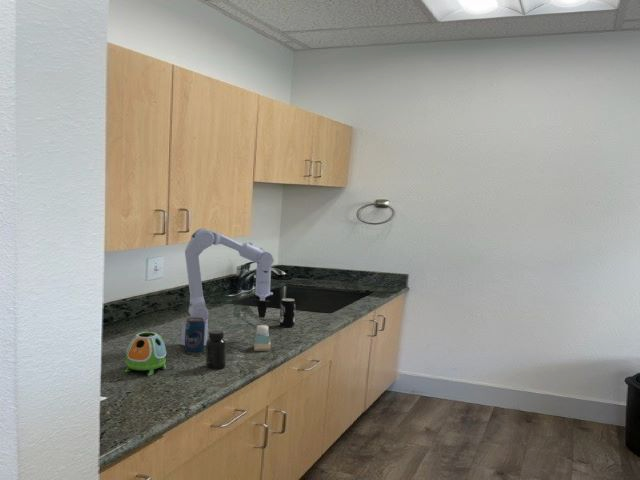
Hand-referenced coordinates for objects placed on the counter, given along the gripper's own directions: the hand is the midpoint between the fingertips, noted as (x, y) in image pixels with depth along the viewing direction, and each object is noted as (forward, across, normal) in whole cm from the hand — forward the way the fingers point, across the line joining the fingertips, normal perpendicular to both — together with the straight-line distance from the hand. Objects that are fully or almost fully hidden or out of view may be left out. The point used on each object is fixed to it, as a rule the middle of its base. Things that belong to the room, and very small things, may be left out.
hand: (261, 315), depth 235 cm
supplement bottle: (+11, -35, +15) cm, 39 cm away
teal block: (+8, -11, 0) cm, 14 cm away
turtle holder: (+11, -38, +37) cm, 54 cm away
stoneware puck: (+5, -11, 0) cm, 12 cm away
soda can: (+11, -17, +24) cm, 31 cm away
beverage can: (+11, +27, -11) cm, 31 cm away
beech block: (+11, -11, -1) cm, 15 cm away
